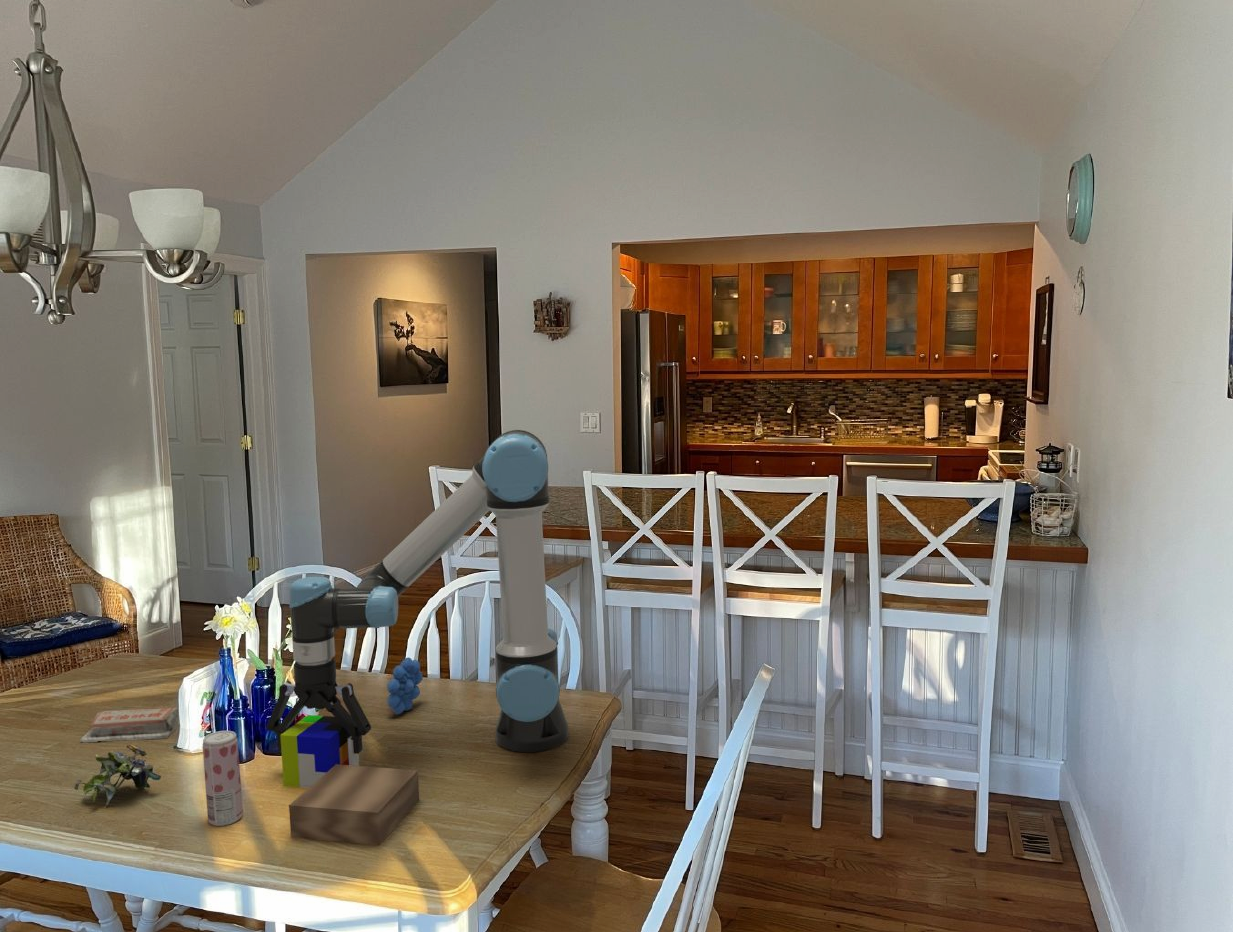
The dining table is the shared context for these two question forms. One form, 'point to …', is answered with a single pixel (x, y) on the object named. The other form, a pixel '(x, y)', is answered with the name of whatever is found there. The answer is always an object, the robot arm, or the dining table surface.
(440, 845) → the dining table surface
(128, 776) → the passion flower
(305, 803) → the walnut block
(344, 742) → the puzzle toy
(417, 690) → the grapes
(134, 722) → the packaged product
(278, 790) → the dining table surface
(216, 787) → the beverage can
